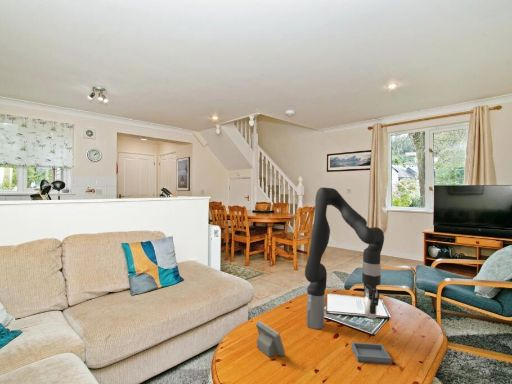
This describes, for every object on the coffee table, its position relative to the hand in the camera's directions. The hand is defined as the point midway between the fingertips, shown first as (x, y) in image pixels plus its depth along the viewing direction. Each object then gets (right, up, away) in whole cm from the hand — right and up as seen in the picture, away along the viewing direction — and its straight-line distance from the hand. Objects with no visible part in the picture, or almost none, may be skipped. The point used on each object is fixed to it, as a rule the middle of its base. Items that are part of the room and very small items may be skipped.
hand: (370, 310), depth 118 cm
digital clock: (-45, -20, +4) cm, 49 cm away
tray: (0, -20, 0) cm, 20 cm away
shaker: (0, -2, 0) cm, 2 cm away
